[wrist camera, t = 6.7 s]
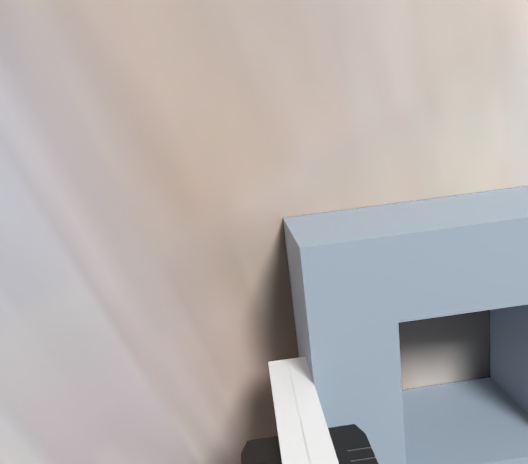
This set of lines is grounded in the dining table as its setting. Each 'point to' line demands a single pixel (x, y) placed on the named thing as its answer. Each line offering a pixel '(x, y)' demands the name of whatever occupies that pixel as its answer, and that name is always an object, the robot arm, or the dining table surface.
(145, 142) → the dining table surface
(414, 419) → the socket block
